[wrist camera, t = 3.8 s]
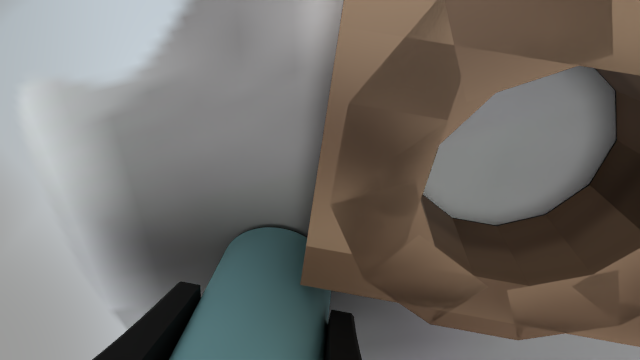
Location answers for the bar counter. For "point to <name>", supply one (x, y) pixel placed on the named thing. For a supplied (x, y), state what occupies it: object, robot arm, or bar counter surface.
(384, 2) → the socket station
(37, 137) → the bar counter surface
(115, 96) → the bar counter surface
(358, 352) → the robot arm
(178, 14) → the bar counter surface
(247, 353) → the peg
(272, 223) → the bar counter surface
